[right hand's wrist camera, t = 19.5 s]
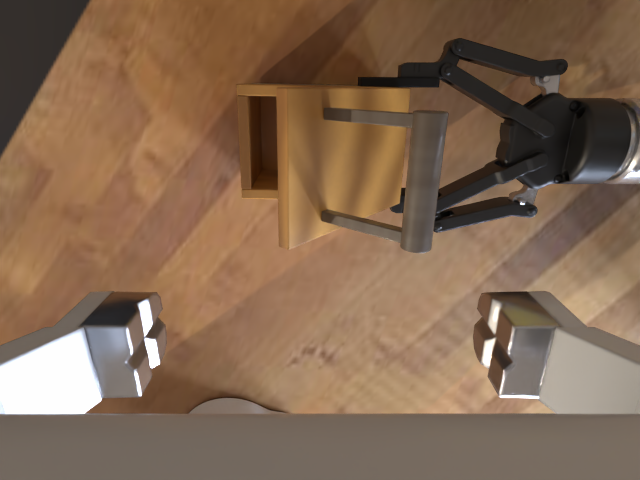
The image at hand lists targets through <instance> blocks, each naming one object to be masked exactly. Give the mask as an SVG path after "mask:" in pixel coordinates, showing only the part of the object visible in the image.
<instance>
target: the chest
mask: <svg viewBox="0 0 640 480" xmlns="http://www.w3.org/2000/svg"><path fill="white" fill-rule="evenodd" d="M278 87H346V88H402V87H362V86H358V85H314V84H268V83H249V84H237V85H236V88H237V95H238V96H237V108H238V128H239V148H240V168H241V188H242V198H245V199H278V159H277V100H276V89H277V88H278Z"/></svg>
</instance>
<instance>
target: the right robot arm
mask: <svg viewBox="0 0 640 480" xmlns="http://www.w3.org/2000/svg"><path fill="white" fill-rule="evenodd" d="M162 309H163V307H162V303H161V298H160V296H159V295H158V293H157V292H114V291H102V292H90V293H89V294H88V295H87V296H86V297H85V298H84V299H83V300H82V301H81V302H79V303H78V304H77V305H76V306H75V307H74V308H73V309H72V310H71V311H70V312H69V313H68V314H66V315H65V316H64V317H63V318H62V319H61V320H60V321H59V322H58V323H57V324H56V325H55V326H53V327H45V328H43V329H40V330H38V331H35V332H33V333H30V334H28V335H25V336H23V337H20V338H18V339H15V340H13V341H10V342H8V343H5V344H3V345H1V346H0V480H640V346H639V345H637V344H634V343H632V342H630V341H627V340H625V339H622V338H620V337H617V336H615V335H612V334H610V333H607V332H605V331H602V330H600V329H597V328H595V327H587V326H586V325H584V324H583V323H582V322H581V321H580V320H579V319H578V318H577V317H576V316H575V315H574V314H573V313H571V312H570V311H569V310H568V309H567V308H566V307H565V306H564V305H563V304H562V303H561V302H560V301H559V300H557V299H556V298H555V297H554V296H553V295H552V294H551V293H549V292H546V291H535V292H487V293H482V294H481V296H480V298H479V302H478V307H477V309H478V311H479V312H480V314H481V316H482V318H481V319H480V320H479V321H478V322H477V323H476V324H475V326H474V334H473V342H474V350H475V353H476V356H477V358H478V360H479V362H480V364H482V365H484V366H485V367H487V368H488V369H489V372H488V378H489V380H490V382H491V383H492V385H493V387H494V389H495V390H496V392H497V394H498V396H499V397H511V398H538V400H539V401H540V402H542V403H543V404H544V405H546V406H547V407H548V408H550V409H551V410H552V411H554V412H555V413H556V414H287V413H283V412H277V411H271V410H268V409H266V408H264V407H262V406H260V405H258V404H255V403H253V402H250V401H247V400H243V399H236V398H220V399H214V400H210V401H207V402H205V403H202V404H200V405H198V406H197V407H195V408H194V409H193V410H192V411H191V412H190V413H189V414H84V413H85V412H87V411H88V410H89V409H91V408H92V407H93V406H95V405H96V404H97V403H99V402H100V401H101V400H102V399H101V398H128V397H141V396H142V394H143V392H144V390H145V389H146V387H147V385H148V383H149V382H150V380H151V378H152V372H151V369H152V368H153V367H155V366H157V365H158V364H160V362H161V360H162V358H163V356H164V353H165V349H166V344H167V332H166V326H165V324H164V323H163V322H162V321H161V320H160V319H159V318H158V316H159V314H160V312H161V311H162Z"/></svg>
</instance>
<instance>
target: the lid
mask: <svg viewBox="0 0 640 480" xmlns="http://www.w3.org/2000/svg"><path fill="white" fill-rule="evenodd" d="M409 99H410V88H346V87H278V88H277V89H276V100H277V159H278V219H279V247H282V248H285V249H288V250H290V249H292V248H294V247H297V246H299V245H302V244H304V243H306V242H309V241H311V240H313V239H316V238H318V237H321V236H323V235H325V234H328V233H330V232H333V231H335V230H337V229H340V228H342V227H344V228H348V229H352V230H355V231H359V232H363V233H366V234H370V235H374V236H377V237H381V238H384V239H388V240H392V241H395V242H399V243H400V246H401V248H402V249H404V250H406V251H408V252H413V253H425V252H428V251H430V250H431V246H432V238H433V230H434V222H435V214H436V206H437V199H438V191H439V183H440V175H441V167H442V159H443V152H444V144H445V136H446V128H447V120H448V112H445V111H431V110H417V111H414V112H413V113H408V110H409ZM407 128H412V130H411V140H410V150H409V161H408V171H407V181H406V191H405V201H404V212H403V222H402V228H401V227H397V226H393V225H389V224H385V223H381V222H377V221H373V220H369V219H365V218H366V217H368V216H371V215H373V214H375V213H378V212H380V211H383V210H385V209H387V208H390V207H392V206H394V205H397V204H399V203H400V195H401V185H402V174H403V163H404V153H405V142H406V131H407Z"/></svg>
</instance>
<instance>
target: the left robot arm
mask: <svg viewBox="0 0 640 480" xmlns="http://www.w3.org/2000/svg"><path fill="white" fill-rule="evenodd" d="M459 59H461V60H465V61H468V62H472V63H475V64H478V65H482V66H485V67H489V68H492V69H496V70H499V71H503V72H506V73H510V74H513V75H517V76H524V77H530V82H531V84H532V85H533V86H538V87H539V88H540V89H541V94H540V95H538V96H536V97H535V98H533V99H532V100H531V101H529V102H528V103H526V104H525V105H523V106H522V105H521V104H519V103H517V102H515V101H512V100H511V99H509V98H507V97H506V96H504V95H503V94H501V93H499V92H498V91H496V90H494V89H493V88H491V87H490V86H488V85H486V84H485V83H483V82H482V81H480V80H478V79H477V78H475V77H473V76H472V75H470V74H469V73H467V72H465V71H464V70H462V69H460V68H459V67H457V63H458V61H459ZM567 67H568V63H567V61H565V60H564V59H557V60H544V61H537V60H534V59H530V58H527V57H524V56H520V55H517V54H513V53H510V52H506V51H503V50H500V49H496V48H493V47H489V46H486V45H483V44H479V43H476V42H472V41H469V40H465V39H462V38H458V39H454V40H451V41H448V42H446V43H445V45H444V48H443V53H442V55H441V57H440V59H439V60H438V61H436V62H434V63H403V64H401V65H398V77H358V86H362V87H439V81H440V80H442V81H443V82H445V83H447V84H448V85H450V86H452V87H453V88H455V89H457V90H458V91H460V92H461V93H463V94H465V95H466V96H468V97H470V98H471V99H473V100H475V101H476V102H478V103H480V104H481V105H483V106H485V107H486V108H488V109H490V110H491V111H493V112H494V113H495V114H496V115H498V116H500V117H501V118H503V119H505V121H504V123H501V126H500V143H499V145H498V148H497V152H496V157H497V158H498V159H496V160H494V161H492V162H490V163H488V164H486V165H485V167H483V168H481V169H479V170H477V171H475V172H473V173H471V174H469V175H467V176H465V177H463V178H461V179H459V180H457V181H455V182H453V183H451V184H448V185H446V186H444V187H442V188H440V189H439V191H438V199H437V206H436V214H435V222H434V230H433V231H434V232H436V233H437V232H443V231H447V230H452V229H456V228H460V227H465V226H469V225H474V224H478V223H482V222H487V221H491V220H496V219H500V218H504V217H509V216H518V217H528V218H530V217H533V216H535V215H536V213H537V207H535V206H534V205H533V204H534V201H535V198H536V194H537V191H538V189H540V188H543V187H544V186H547V185H550V184H598V183H604V184H640V98H621V99H616V100H615V99H611V98H566V97H564V96H563V95H561V94H559V93H558V89H559V80H560V75H561V74H563V73H564V72H565V71H566V70H567ZM513 179H517V180H518V181H520V182H521V183H522V184H523V185H524V186H523V188H522V189H521V190H519V191H515V192H512V193H510V194H509V197H498V198H493V199H489V200H484V201H480V202H476V203H471V204H467V205H463V206H458V207H454V208H450V209H447V208H449V207H451V206H454V205H456V204H458V203H460V202H462V201H464V200H466V199H468V198H470V197H473V196H475V195H477V194H479V193H481V192H483V191H485V190H487V189H489V188H491V187H494V186H496V185H498V184H504V183H507V182H509V181H511V180H513ZM405 191H406V188H401V195H400V203H399V204H397V205H394V206H392V207H390V210H391V211H393V212H395V213H403V212H404V201H405ZM445 209H446V210H445Z"/></svg>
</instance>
